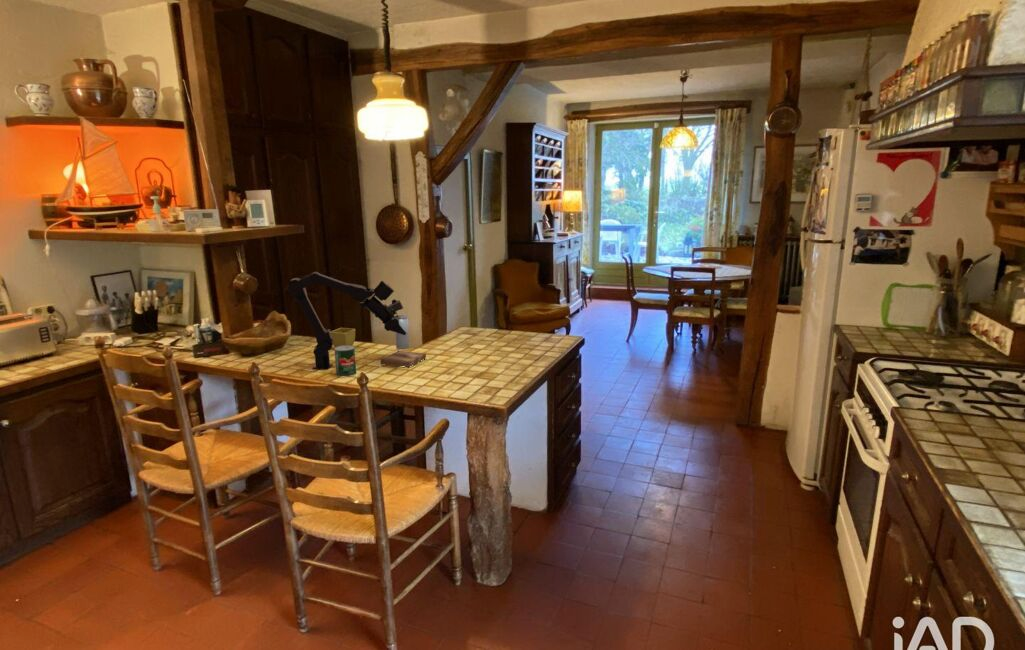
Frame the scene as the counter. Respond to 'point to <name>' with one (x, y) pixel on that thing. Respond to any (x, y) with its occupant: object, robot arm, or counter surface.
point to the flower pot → (343, 336)
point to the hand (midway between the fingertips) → (405, 332)
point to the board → (403, 358)
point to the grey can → (401, 340)
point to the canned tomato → (345, 360)
